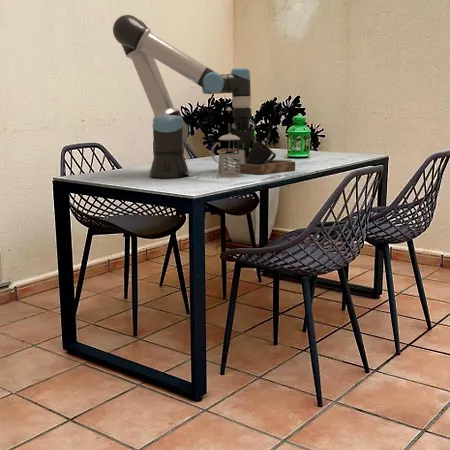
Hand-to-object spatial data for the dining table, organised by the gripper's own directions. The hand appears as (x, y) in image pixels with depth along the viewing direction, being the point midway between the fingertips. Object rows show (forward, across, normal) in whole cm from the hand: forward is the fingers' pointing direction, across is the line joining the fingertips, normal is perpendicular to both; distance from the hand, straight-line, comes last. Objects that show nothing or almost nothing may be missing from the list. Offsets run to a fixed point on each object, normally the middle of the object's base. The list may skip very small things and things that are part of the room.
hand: (243, 165), depth 261 cm
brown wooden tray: (+2, -14, +2) cm, 14 cm away
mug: (+1, -4, -2) cm, 4 cm away
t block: (+2, -6, -17) cm, 18 cm away
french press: (+2, -13, +23) cm, 26 cm away
